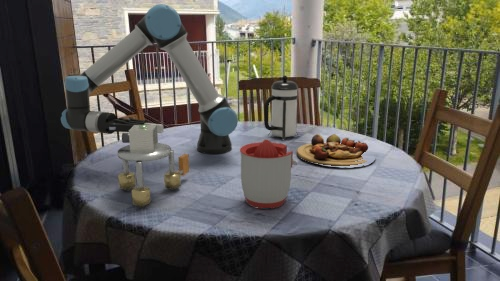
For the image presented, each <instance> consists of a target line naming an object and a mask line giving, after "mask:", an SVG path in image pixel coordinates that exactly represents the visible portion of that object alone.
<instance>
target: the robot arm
mask: <svg viewBox="0 0 500 281" xmlns="http://www.w3.org/2000/svg"><path fill="white" fill-rule="evenodd" d="M187 36H188V31H187V30H186V28H185V26H184V25H183V23H182V21H181V17H180V15H179V13H178V11H177V10H176V8H174V7H172V6H171V5H168V4H166V3H165V4H163V3H159V4H156V5H153V6H152V7H151V8H149V9H148V11H147V12H146V14H144V16H143V17H142V18H141V19H140V20H139V21H138V22H137V23H136V24H135V25H134V29H133V30H132V31H131V32H130V33H129V34H127V35H126V36H125V37H123V39H122V40H120V41H118V42H117V43H116V44H115V45H114V46H113V47H111V49H109V50H108V51H107V52H105V53H104V54H103V55H102V56H101V57H100V58H98V59H97V60H96V61H95V62H93V63H92V65H90V66H89V67H88V68H86V69H85V70H84V71H83V72H81V74H79V75H69V76H66V77H65V80H64V82H65V85H64V88H65V95H66V96H65V97H66V104H67V105H66V106H67V108H65V109H64V110H63V111H62V112H61V117H60V122H61V125H62V126H63V127H64V128H65V129H69V130H73V131H82V132H91V133H92V132H93V133H95V134H98V133H100V134H101V133H102V134H107V135H112V134H114V133H115V132H117V133H118V132H119V133H129V130H130V129H131V128H132V127H133V126H134V125H157V134H163V133H164V124H160V123H151V122H149V120H143V119H137V118H133V117H130V116H129V117H128V118H123V117H118V116H117V115H116V113H113V112H109V111H108V112H106V111H99V110H91V105H90V94H91V93H93V92H94V91H95V90H96V89H97V88H99V87H100V86H101V85H102V84H103V83H104V82H106V81H107V80H108V79H109V78H110V77H112V76H113V75H115V74H116V73H117V72H118V71H119V70H120V69H121V68H122V67H124V66H125V65H126V64H127V63H129V62H130V61H131V60H132V59H133V58H135V57H136V56H137V55H138V54H140V52H142V51H143V50H144V49H145V48H147V47H148V46H153V45H155V44H156V45H157V46H158V48H159V49H160V50H162V51H165V52H166V53H167V55H168V57H169V58H170V60H171V62H172V63H173V64H174V67H175V68H176V69H177V71H178V73H179V74H180V76H181V78H182V79H183V82H185V84H186V86H187V87H188V89H189V91H190V92H191V94H192V95H193V97H194V99H195V100H196V102H197V104H198V105H199V106H198V112H199V117H200V118H199V119H200V121H199V123H200V133H199V138H198V140H197V143H196V150H197V151H198V152H199V153H202V154H207V155H208V154H209V155H219V154H223V153H224V154H225V153H228V152H231V150H232V147H233V146H232V141H231V138H230V134H232V133H233V132H234V131H235V130H236V128H237V126H238V121H239V120H238V119H239V118H238V115H237V112H236V111H235V110H234V109H232V107H231V105H230V104H229V102H228V98H227V97H225V96H224V95H223V94H220V93H218V91H217V89H216V88H215V86H214V84H213V83H212V81H211V79H210V76H208V73H207V72H206V70H205V69H204V67H203V65H202V63H201V62H200V60H199V59H198V57H197V55H196V53H195V51H194V50H193V48H192V47H191V45H190V43H189V41H188V40H187V38H188V37H187Z"/></svg>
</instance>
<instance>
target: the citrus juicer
mask: <svg viewBox="0 0 500 281" xmlns="http://www.w3.org/2000/svg"><path fill="white" fill-rule="evenodd" d="M239 150H240V151H239V152H240V182H241V186H242V187H241V188H242V191H243V196H244V198H245V201H246V203H247V204H248V205H249V204H250V205H249V206H251V207H253V206H254V207H253V208H255V207H258V208H257V209H262V208H271V209H276V208H279V207H282V206H283V205H284V204H285V202H286V200H287V198H288V193H289V190H290V187H291V180H292V179H291V178H292V168H293V166H298V162H297V161H295V160H294V158H293V152H294V150H292V151H291V150H290V151H288V146H287V145H286V144H283V143H280V142H279V143H278V142H271V141H270V140H269V139H264V140H263V141H261V142H252V143H247V144H244V145H242V146H241V147H240V149H239ZM283 203H284V204H283ZM282 204H283V205H282ZM275 207H276V208H275Z"/></svg>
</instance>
